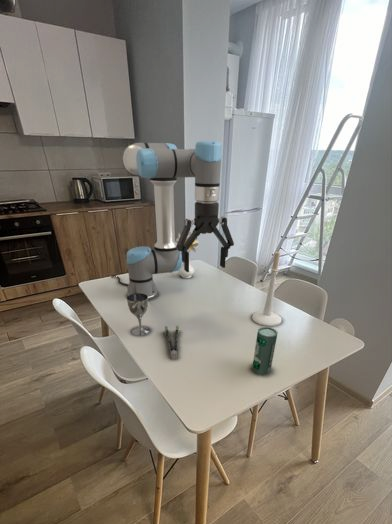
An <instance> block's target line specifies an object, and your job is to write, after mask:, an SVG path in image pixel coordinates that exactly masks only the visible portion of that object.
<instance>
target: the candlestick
mask: <svg viewBox="0 0 392 524" xmlns="http://www.w3.org/2000/svg"><path fill="white" fill-rule="evenodd" d="M280 255H281V252H280V251H275V252H274V256H273V262H272V267H270V274H271V277H270V280H269V286H268V290H267V295H266V299H265V304H264V308H263V310H258V311H256V312H254V313H253V314H252V317H251V319H252V321H253V322H254V323H256V324H257V325H261V326H263V327H275V326H278V325H280V324H281V323H282V317H281V315H279V314H278V313H276V312H274V311H273V307H274V298H275V290H276V289H275V287H276V279H277V277H276V276H277V274H278V273H279V271H280V268H279V262H280Z"/></svg>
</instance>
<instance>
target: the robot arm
mask: <svg viewBox="0 0 392 524" xmlns="http://www.w3.org/2000/svg"><path fill="white" fill-rule="evenodd" d="M222 158H223V157H222V143H221V142H220V141H215V140H214V141H213V140H198V141H197V142H196V143H195V147H194V148H188V149H187V148H186V149H185V148H178V147H177V146H176V144H173V143H167V142H135V143H132V144H129V145H128V146H125V148H124V149H123V150H122V153H121V163H122V166H123V167H124V169H125V170H126V172H128V173H130V175H131V174H132V175H134V176H139V177H140V178H144V179H149V181H150V182H151V184H152V185H153V194H154V208H155V209H154V210H155V211H154V212H155V229H156V242H155V243H154V244H153V248H154V249H151V247H150V246H146V245H144V246H141V245H140V246H136V247H133V248H130V249H129V250H128V251H127V252H126V264H127V265H126V266H127V273H128V280H129V281H128V283H125V282H122V281H121V278H120V277H119V276H118V275H116V274H111V276H110V278H113V277H115V278H116V279H117V280H118V281H117V282H118V283H119V284H120V285H124V286H127V290H126V294H127V297H128V296H129V295H131V294H136V293H141V294H145V295H147V296H148V301H150V300H153V299H155V298H156V297H157V296H158V288H157V287H156V283H155V281H154V279H153V277H154V275H158V274H167V273H170V274H172V273H176V272H179V269H180V268H181V266H182V264H183V262H184V270H185V271H186V272H189V261H190V252H188V251H187V250H188V249H189V248H190V246H191V245H192V244H193V242H194V241H195V239H196V238H197V239H198V237H199V236H200V235H201V234H202V235H206V234H212V233H213V234H214V236H215V237H216V239H217V240H218V241H219V243H220V244H221V245H222V246H220V256H219V266H220V267H221V268H223V269H225V268H226V261H227V258H228V257H229V249H231V247H233V246H234V245H235V242H234V239H233V237H232V235H231V231H230V229H229V226H228V218H227V217H225V216H220V217H219V209H220V204H219V202H218V201H219V200H220V190H221V189H220V187H221V186H220V185H221V170H222V169H221V168H222ZM177 178H194V200H195V202H194V219H189V218H185V219H184V226H183V229H182V230H183V231H182V232H181V233H180V235H181V236H180V238H179V241H178V243H176V242H177V241H176V233H175V230H176V229H175V200H174V199H175V195H174V185H175V184H176V183H177V181H178V179H177ZM193 225H194V228H193V230H192V232H191V228H192V227H193ZM218 225H220V227H221V229H222V231H223V235H224V236H223V235H222V234H221V232H220V230H219V229H218ZM189 232H191V235H190V236H189V238H188V239H187V241H186V238H187V236H188V234H189ZM224 237H225V238H224ZM185 241H186V242H185ZM116 276H117V277H116Z"/></svg>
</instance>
